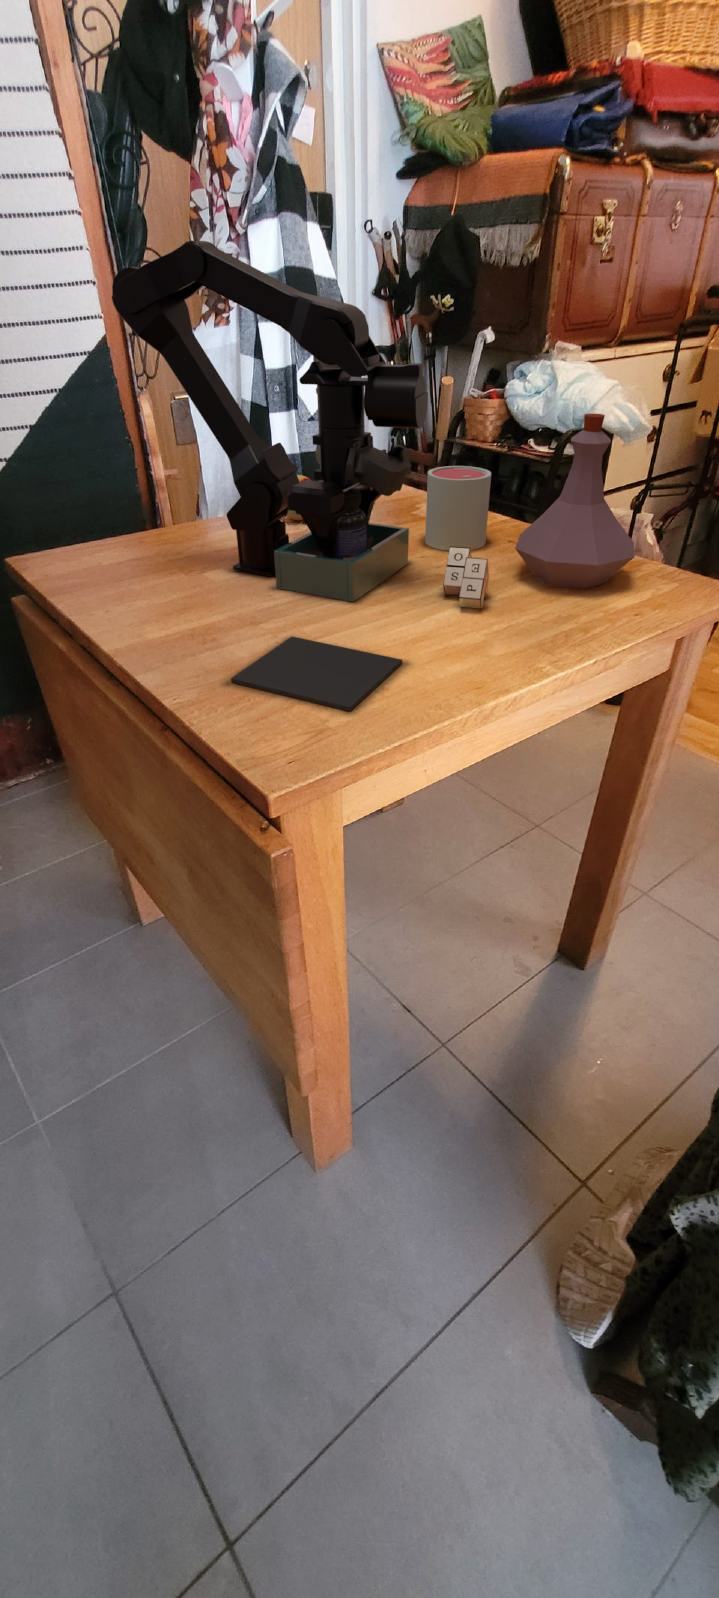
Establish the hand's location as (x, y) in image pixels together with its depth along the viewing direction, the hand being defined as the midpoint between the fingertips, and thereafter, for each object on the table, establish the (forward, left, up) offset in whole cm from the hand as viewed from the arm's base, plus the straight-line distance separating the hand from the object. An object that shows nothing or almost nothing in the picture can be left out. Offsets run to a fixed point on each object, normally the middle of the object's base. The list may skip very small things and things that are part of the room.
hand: (344, 551), depth 104 cm
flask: (+28, +13, -4) cm, 31 cm away
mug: (+7, +23, -4) cm, 24 cm away
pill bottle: (0, 0, -4) cm, 4 cm away
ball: (-20, +21, -4) cm, 29 cm away
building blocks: (+18, -1, -4) cm, 18 cm away
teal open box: (0, 0, -3) cm, 3 cm away
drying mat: (+12, -28, -3) cm, 31 cm away
